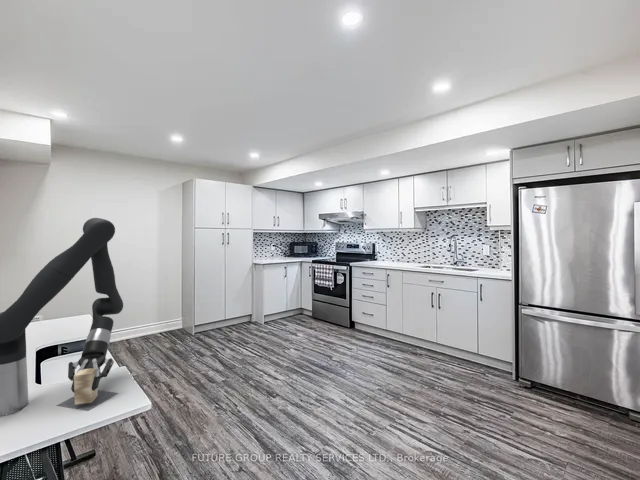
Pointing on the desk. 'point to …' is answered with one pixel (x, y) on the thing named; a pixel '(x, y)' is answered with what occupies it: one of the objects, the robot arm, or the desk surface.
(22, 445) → the desk surface
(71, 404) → the rubber mat
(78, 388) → the maple block
